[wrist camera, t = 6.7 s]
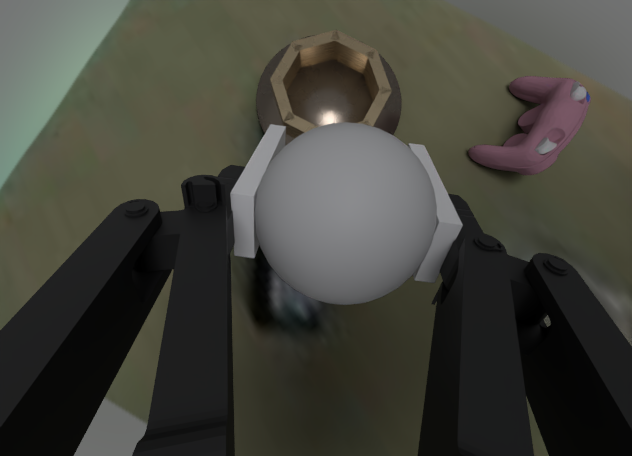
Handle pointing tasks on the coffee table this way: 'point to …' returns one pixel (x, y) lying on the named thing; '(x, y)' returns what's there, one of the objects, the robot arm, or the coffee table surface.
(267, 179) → the lightbulb
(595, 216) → the coffee table surface
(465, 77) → the coffee table surface
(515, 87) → the video game controller
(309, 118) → the socket
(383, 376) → the coffee table surface
